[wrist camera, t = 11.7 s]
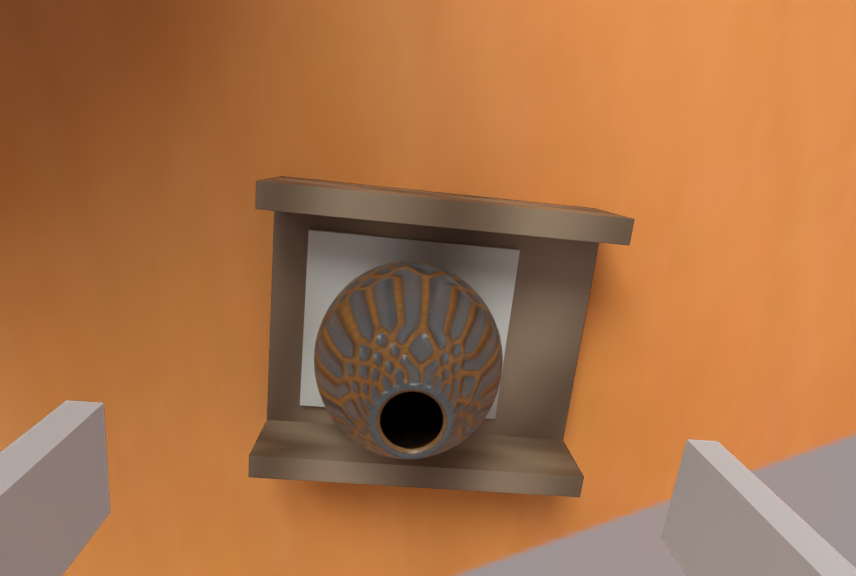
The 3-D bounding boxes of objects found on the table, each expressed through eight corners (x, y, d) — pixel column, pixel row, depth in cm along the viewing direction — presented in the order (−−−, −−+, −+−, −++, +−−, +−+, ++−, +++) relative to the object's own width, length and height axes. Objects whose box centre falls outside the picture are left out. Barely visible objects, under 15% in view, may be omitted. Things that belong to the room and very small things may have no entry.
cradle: (272, 426, 26) (248, 477, 22) (281, 176, 23) (256, 180, 19) (552, 445, 27) (579, 497, 23) (594, 208, 24) (634, 219, 20)
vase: (408, 425, 24) (413, 569, 16) (295, 327, 23) (234, 427, 15) (517, 323, 24) (583, 417, 15) (406, 214, 22) (410, 250, 14)
